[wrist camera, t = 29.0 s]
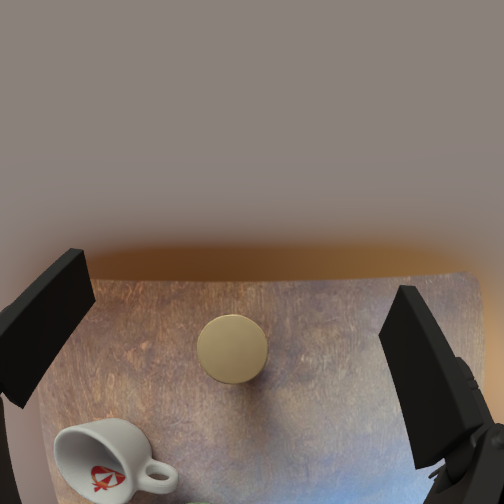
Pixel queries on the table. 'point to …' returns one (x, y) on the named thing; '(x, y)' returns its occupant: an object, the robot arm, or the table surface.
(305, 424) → the table surface
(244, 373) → the tan wooden cylinder
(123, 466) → the cup
